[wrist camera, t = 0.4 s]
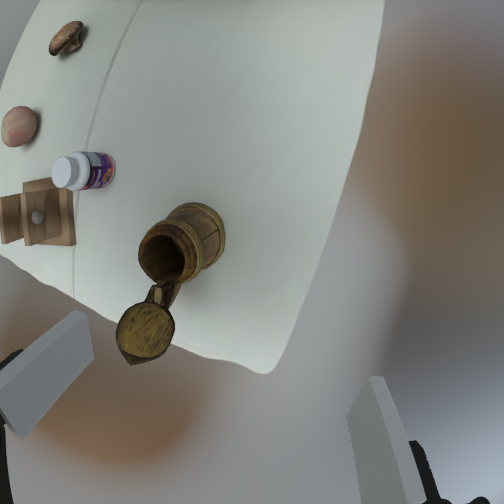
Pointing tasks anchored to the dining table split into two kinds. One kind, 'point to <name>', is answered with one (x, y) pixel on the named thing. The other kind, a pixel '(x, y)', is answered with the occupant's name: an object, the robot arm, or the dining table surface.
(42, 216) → the holder
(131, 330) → the wooden mug
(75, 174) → the pill bottle
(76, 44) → the mushroom
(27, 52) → the dining table surface
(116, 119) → the dining table surface
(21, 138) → the apple
